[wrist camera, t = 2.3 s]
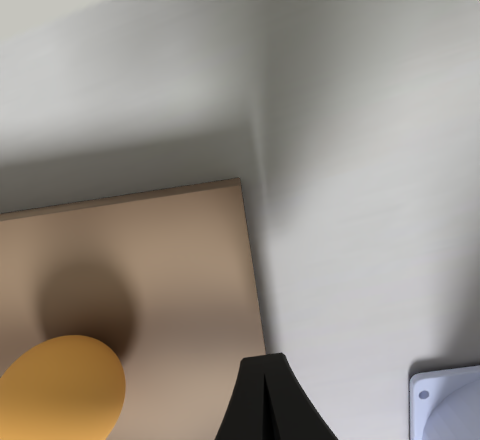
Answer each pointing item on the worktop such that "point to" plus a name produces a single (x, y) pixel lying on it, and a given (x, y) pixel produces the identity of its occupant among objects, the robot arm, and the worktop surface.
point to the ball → (62, 391)
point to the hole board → (141, 297)
